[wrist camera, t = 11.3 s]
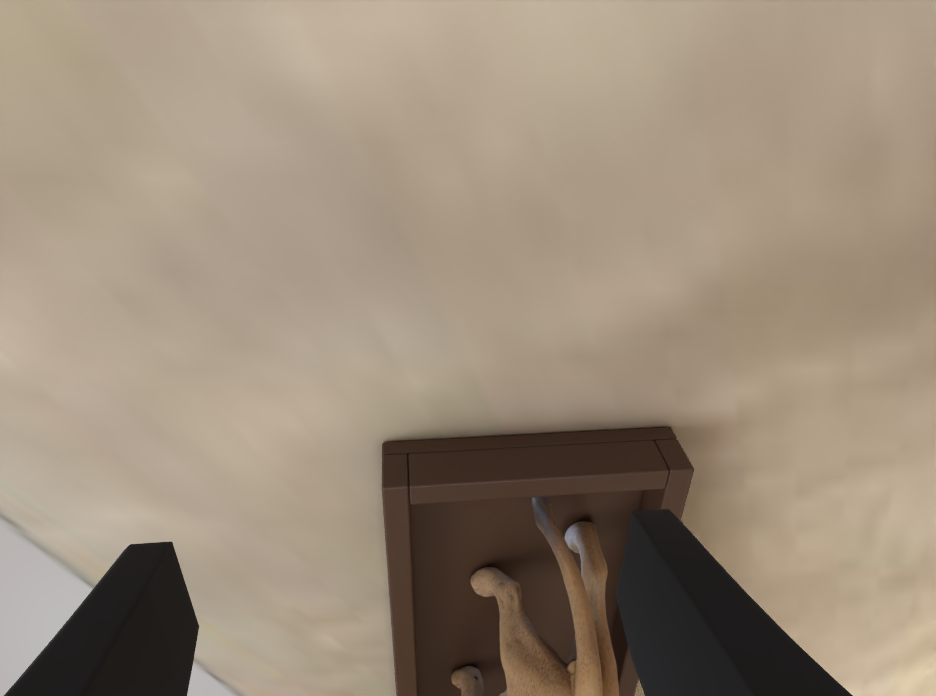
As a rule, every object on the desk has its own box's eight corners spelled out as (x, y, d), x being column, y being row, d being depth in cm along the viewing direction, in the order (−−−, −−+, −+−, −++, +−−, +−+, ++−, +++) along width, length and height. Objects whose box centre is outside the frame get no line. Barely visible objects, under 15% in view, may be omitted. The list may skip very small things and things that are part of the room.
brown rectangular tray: (670, 425, 22) (695, 469, 20) (604, 716, 32) (617, 762, 30) (381, 441, 21) (381, 487, 19) (401, 735, 31) (402, 785, 29)
